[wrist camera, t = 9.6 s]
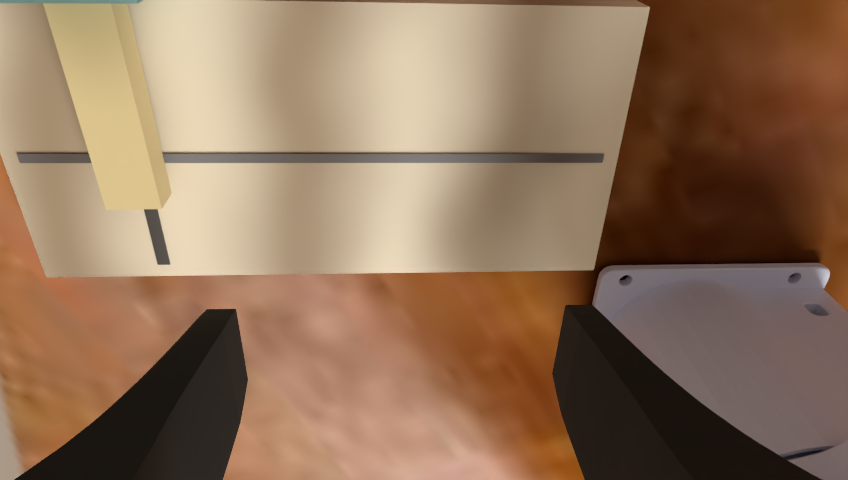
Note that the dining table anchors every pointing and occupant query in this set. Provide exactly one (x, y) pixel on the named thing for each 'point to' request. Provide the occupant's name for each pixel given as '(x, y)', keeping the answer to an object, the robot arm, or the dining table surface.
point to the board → (336, 136)
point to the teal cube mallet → (110, 99)
